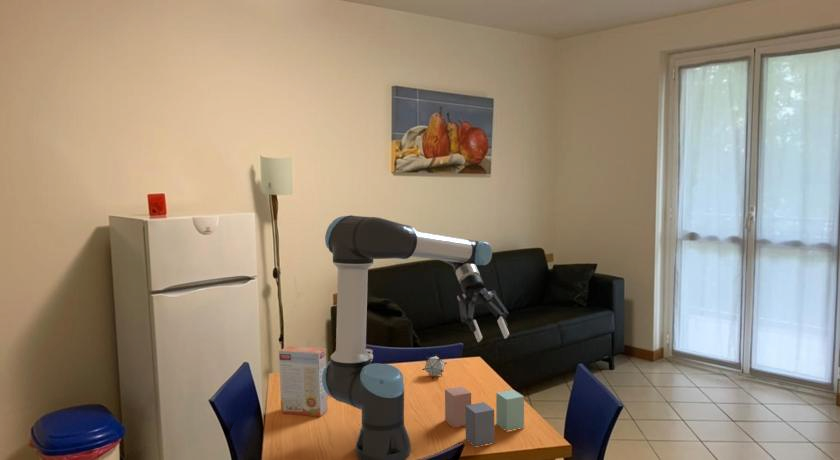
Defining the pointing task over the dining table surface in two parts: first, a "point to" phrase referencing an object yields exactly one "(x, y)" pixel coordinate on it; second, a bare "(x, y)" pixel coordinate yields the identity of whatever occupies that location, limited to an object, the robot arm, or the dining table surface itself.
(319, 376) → the cracker box
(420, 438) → the dining table surface
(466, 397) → the pink block
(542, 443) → the dining table surface
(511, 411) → the sage block
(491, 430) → the slate blue block
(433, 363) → the game die
